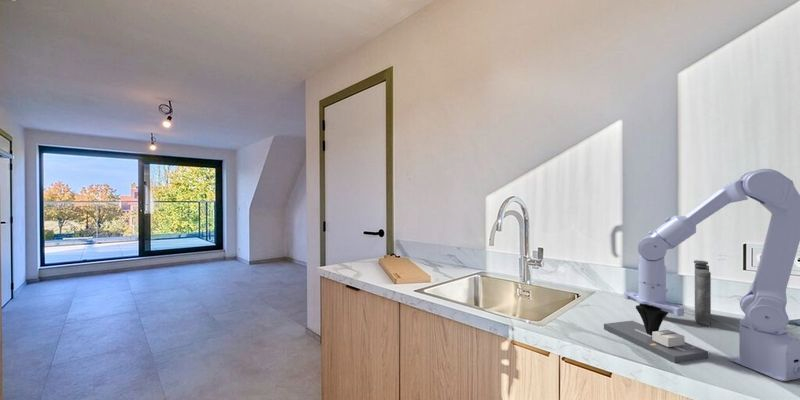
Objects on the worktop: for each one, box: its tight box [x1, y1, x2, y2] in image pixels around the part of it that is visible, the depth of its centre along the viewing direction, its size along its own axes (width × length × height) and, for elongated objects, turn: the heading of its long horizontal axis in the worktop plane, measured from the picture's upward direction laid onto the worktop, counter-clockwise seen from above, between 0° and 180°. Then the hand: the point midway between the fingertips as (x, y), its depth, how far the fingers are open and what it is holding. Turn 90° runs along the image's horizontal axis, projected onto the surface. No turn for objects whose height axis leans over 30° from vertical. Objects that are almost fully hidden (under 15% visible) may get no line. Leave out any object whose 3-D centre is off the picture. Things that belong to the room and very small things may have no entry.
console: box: [603, 320, 709, 364], centre depth 87 cm, size 20×10×2 cm, turn 12°
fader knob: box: [652, 329, 685, 347], centre depth 83 cm, size 4×5×2 cm
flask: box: [693, 259, 712, 328], centre depth 102 cm, size 4×14×18 cm, turn 139°
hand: (651, 334), depth 87 cm, fingers closed
